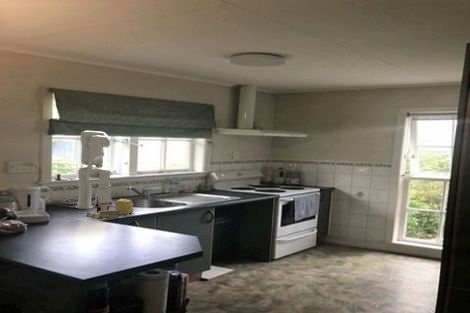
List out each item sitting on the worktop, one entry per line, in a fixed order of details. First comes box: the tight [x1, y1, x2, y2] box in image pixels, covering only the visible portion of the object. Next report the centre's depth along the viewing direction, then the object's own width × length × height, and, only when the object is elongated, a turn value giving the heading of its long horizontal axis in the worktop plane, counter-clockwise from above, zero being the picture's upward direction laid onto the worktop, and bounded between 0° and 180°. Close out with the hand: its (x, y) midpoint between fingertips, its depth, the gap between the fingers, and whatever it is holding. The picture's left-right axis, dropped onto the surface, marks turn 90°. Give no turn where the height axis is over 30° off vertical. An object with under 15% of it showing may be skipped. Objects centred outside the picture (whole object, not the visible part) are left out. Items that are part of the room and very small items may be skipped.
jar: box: [100, 203, 108, 211], centre depth 318 cm, size 6×6×8 cm
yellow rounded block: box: [115, 198, 134, 215], centre depth 335 cm, size 10×11×10 cm
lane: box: [86, 209, 120, 220], centre depth 318 cm, size 16×15×5 cm
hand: (102, 212), depth 318 cm, fingers closed on jar, 6 cm apart
